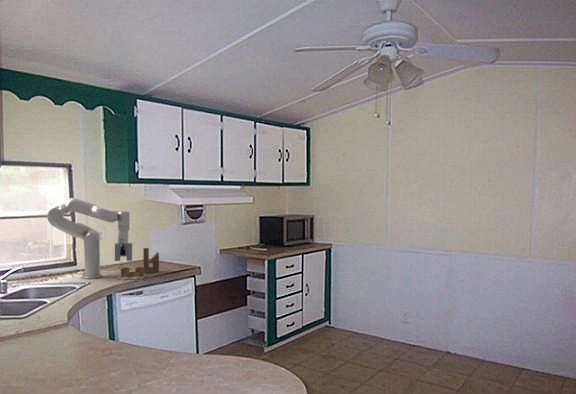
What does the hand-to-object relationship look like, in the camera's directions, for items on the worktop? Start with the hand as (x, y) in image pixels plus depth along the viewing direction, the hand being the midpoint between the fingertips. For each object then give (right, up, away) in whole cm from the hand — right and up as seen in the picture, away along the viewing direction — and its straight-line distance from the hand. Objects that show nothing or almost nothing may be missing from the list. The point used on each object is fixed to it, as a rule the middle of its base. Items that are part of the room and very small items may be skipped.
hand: (123, 254), depth 293 cm
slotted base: (+10, -15, -9) cm, 20 cm away
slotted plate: (0, -4, 0) cm, 4 cm away
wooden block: (+17, -14, +9) cm, 24 cm away
